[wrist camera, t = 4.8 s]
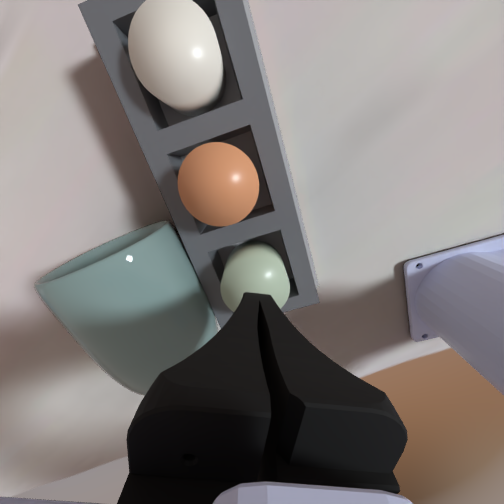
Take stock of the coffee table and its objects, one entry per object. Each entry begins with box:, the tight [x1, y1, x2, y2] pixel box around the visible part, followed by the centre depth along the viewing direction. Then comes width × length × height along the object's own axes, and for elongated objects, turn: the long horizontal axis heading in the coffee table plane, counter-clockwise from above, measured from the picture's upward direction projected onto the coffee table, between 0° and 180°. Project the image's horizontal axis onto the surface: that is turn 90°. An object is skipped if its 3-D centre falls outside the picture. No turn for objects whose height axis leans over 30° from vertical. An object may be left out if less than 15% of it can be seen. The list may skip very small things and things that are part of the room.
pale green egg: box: [220, 241, 290, 312], centre depth 15 cm, size 4×4×3 cm
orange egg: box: [178, 142, 259, 226], centre depth 13 cm, size 4×4×3 cm
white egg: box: [128, 0, 226, 116], centre depth 12 cm, size 4×4×3 cm
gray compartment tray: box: [78, 0, 320, 328], centre depth 15 cm, size 8×20×3 cm, turn 18°
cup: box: [34, 220, 218, 395], centre depth 16 cm, size 8×8×10 cm
